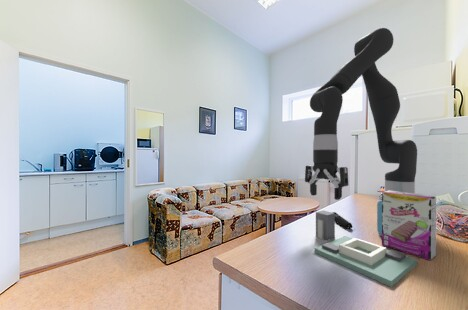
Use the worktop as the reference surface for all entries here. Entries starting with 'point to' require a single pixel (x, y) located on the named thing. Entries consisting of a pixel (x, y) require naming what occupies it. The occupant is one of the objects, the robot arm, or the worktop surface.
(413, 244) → the candy bar box
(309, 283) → the worktop surface
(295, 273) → the worktop surface
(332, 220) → the plug
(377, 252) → the board
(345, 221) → the electric trimmer
